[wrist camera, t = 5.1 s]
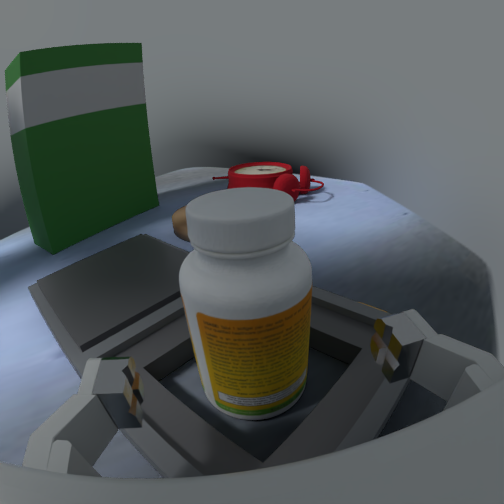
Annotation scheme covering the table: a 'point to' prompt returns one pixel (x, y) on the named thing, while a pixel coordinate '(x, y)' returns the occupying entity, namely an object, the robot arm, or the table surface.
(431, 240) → the table surface
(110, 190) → the hardback book
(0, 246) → the table surface
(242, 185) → the alarm clock
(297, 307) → the supplement bottle
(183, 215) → the round brown pad
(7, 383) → the table surface
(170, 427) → the equipment case
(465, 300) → the table surface
